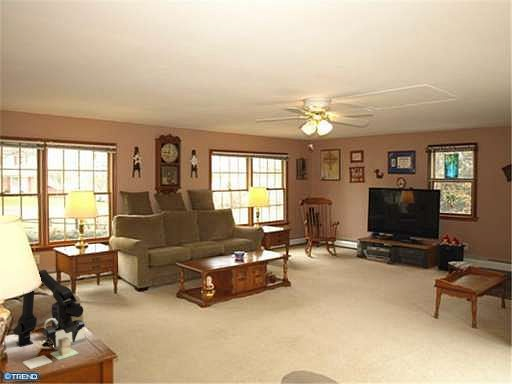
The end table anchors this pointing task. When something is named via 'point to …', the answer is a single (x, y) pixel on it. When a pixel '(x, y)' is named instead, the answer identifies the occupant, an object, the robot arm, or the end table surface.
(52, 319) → the watch
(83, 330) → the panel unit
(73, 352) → the sage mat
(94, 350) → the end table surface
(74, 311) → the robot arm
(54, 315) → the storage jar
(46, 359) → the cream mat
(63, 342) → the block
